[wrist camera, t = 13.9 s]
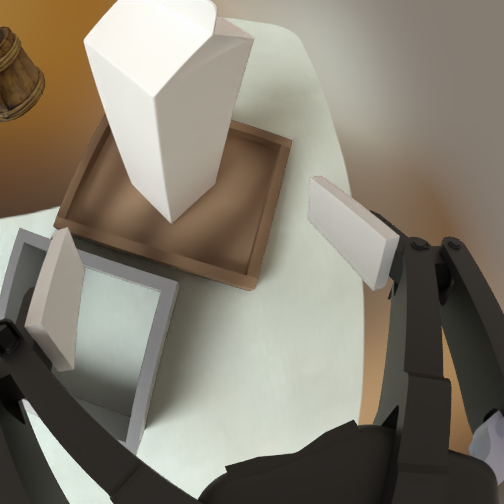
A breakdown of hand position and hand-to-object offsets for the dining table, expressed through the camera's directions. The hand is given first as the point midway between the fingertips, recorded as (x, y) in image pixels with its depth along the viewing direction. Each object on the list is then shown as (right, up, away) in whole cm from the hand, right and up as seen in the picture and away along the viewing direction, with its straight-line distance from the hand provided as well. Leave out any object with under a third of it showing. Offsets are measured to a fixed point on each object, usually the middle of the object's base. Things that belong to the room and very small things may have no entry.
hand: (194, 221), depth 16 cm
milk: (-5, +5, +14) cm, 16 cm away
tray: (-5, +5, +15) cm, 16 cm away
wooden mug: (-28, +17, +12) cm, 35 cm away
